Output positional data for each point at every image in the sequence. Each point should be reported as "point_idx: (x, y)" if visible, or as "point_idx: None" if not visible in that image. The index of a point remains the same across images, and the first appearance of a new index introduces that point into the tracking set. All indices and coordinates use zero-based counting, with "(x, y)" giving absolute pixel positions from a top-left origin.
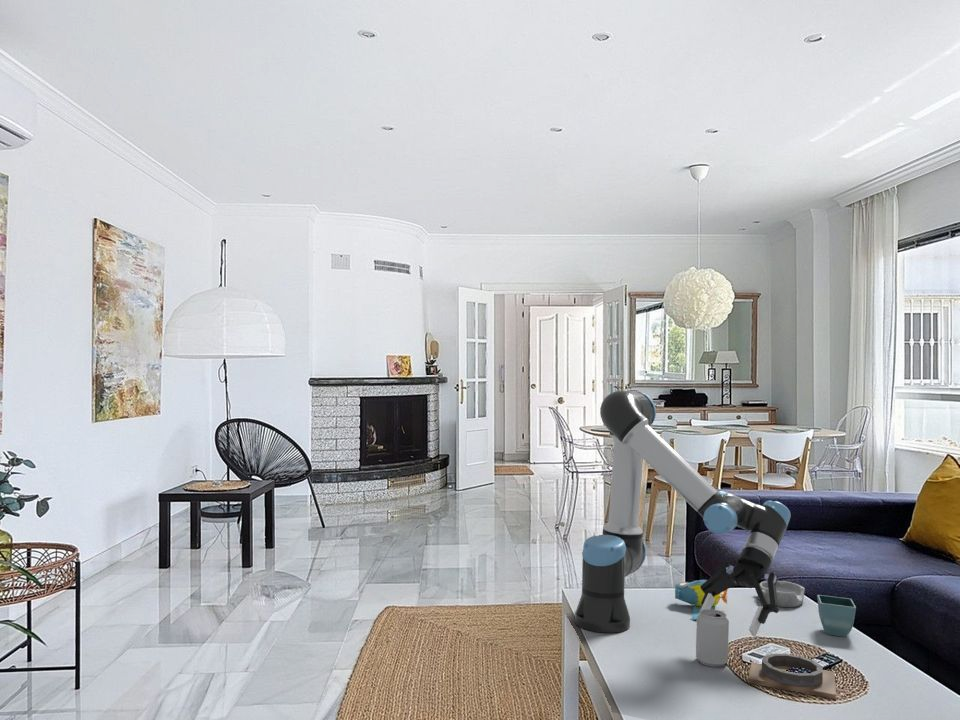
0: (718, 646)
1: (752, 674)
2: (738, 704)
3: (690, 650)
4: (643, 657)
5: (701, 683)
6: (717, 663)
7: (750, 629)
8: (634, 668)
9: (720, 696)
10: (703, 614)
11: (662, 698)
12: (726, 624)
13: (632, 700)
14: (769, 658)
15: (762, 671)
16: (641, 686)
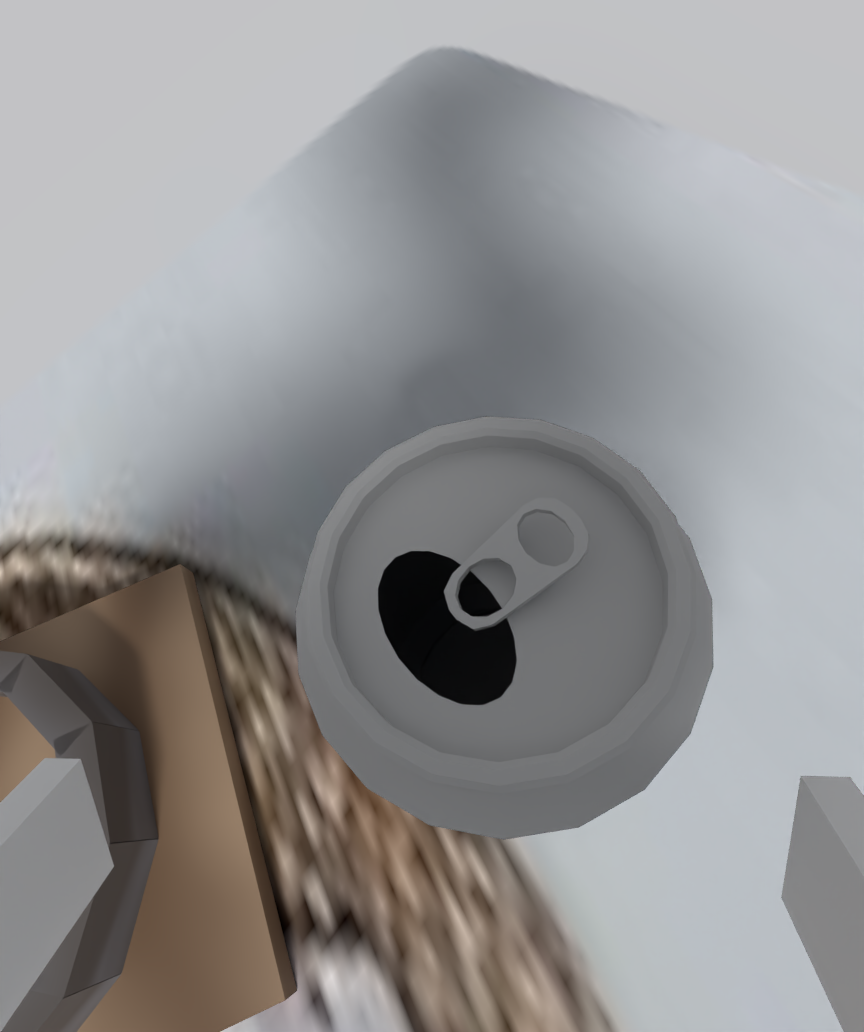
0: (392, 584)
1: (176, 641)
2: (153, 338)
3: (762, 784)
4: (816, 400)
5: (372, 380)
6: (417, 618)
7: (54, 760)
8: (706, 264)
9: (242, 340)
10: (537, 426)
11: (406, 166)
12: (298, 605)
13: (470, 89)
14: None
15: (126, 723)
16: (533, 172)
